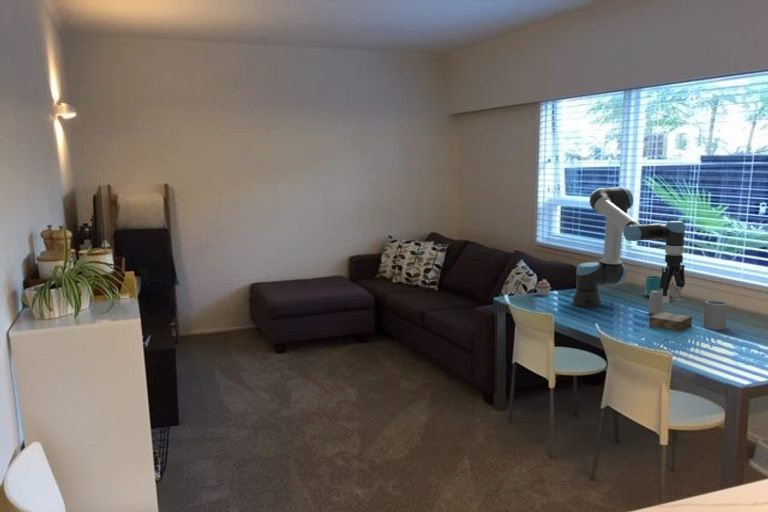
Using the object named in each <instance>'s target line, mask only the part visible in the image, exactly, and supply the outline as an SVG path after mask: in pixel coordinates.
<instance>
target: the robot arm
mask: <svg viewBox="0 0 768 512" xmlns="http://www.w3.org/2000/svg"><path fill="white" fill-rule="evenodd" d="M589 205H590V207H591V209H592V210H593V211H594V212H595V213H597V214H600V215H603V217H605V218H606V223H605V234H604V245H603V255H602V256H603V257H602V258H601V259H599V262H596V261H590V262H589V261H588V262H581V263H579V264H578V265H577V267H576V273H575V274H576V277H575V279H576V281H575V282H576V283H575V285H576V286H575V288H576V289H575V293H574V296H573V297H572V298H573V299H572V305H573V306H574V307H579V308H585V309H586V308H587V309H588V308H590V309H591V308H592V309H593V308H599V307H601V306H602V300H601V297H600V293H599V287H600V286H601V287H602V286H616V285H620V284H622V283H623V282H624V281H625V280H626V279H625V278H626V276H627V269H626V266H625V265H624V264H623V261H622V260H621V250H622V242H623V241H622V240H623V237H624V239H625V240H626V241H630V242H631V241H632V242H637V241H652V240H653V241H654V240H661V241H665V250H664V252H665V255H664V262H665V263H666V266H662V268H661V271H662V272H661V276H660V277H661V282H660V288H661V289H663V302H664V303H665V304H669V303H670V299H669V289H668V288H669V285H670V284H671V283H672V278H673V277H674V281H675V285H677V286H678V287H680V288H682V287H683V288H684V287H685V285H686V280H685V266H686V265H684V264H682V263H684V262H683V261H684V255H683V254H684V241H685V222H684V221H682V220H681V221H680V220H669V221H667V222H666V223H665V224H664V223H661V222H657V223H656V222H655V223H647V224H640V223H639V222H638V221H636V220H635V219H634V218H632V216H630V215H629V214H628V210H630V209H631V208H632V206H633V205H634V196H633V193H632V191H631V189H629V188H628V187H621V186H619V187H617V186H616V187H599V188H597V189H595V190H594V191H593V192H592V193H591V195H590V197H589ZM662 285H663V286H662ZM683 288H682V289H683ZM680 297H682V293H681V294H680ZM680 297H679V298H676V299H674V301H679V302H681V301H682V298H680Z"/></svg>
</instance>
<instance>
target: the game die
mask: <svg viewBox="0 0 768 512" xmlns="http://www.w3.org/2000/svg"><path fill="white" fill-rule="evenodd" d="M683 288H684V287H682V288H680V287H678V286H677V285H676V283H674V281H671V283H670V285H669V288H668V289H669V301H670V302H671V303H673V300H674V301H675V299H676V298H679V297H680V294H681V295H682V289H683ZM662 296H663V295H662ZM680 298H681V299H682V296H681V297H680Z"/></svg>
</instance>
